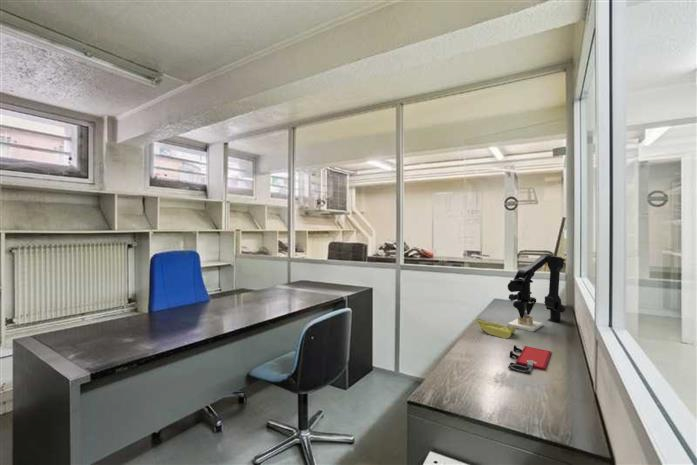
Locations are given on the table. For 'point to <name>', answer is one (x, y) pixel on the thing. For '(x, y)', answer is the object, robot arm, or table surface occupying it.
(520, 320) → the collar
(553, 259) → the robot arm
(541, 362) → the red board with handle
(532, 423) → the table surface
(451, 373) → the table surface
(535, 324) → the post plate
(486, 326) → the plastic component
